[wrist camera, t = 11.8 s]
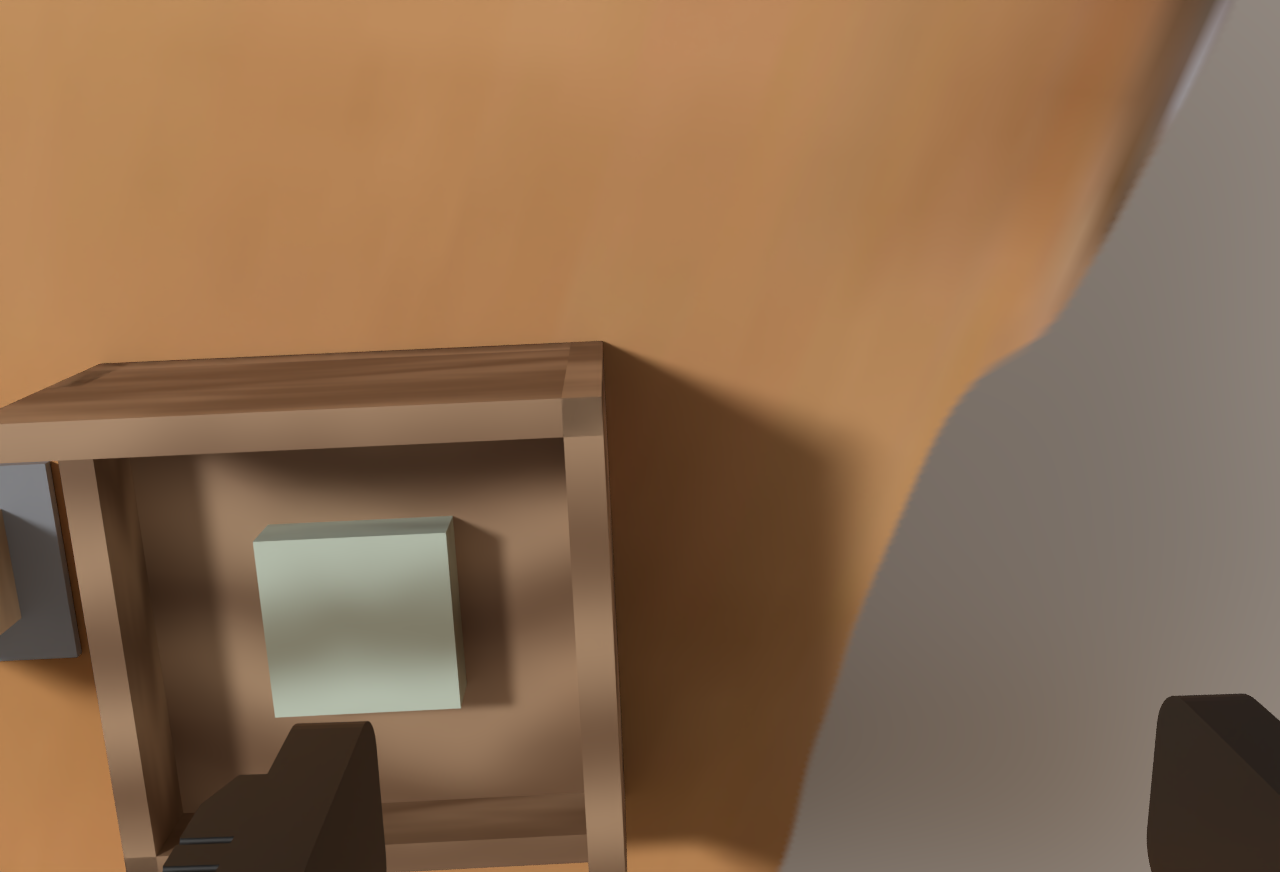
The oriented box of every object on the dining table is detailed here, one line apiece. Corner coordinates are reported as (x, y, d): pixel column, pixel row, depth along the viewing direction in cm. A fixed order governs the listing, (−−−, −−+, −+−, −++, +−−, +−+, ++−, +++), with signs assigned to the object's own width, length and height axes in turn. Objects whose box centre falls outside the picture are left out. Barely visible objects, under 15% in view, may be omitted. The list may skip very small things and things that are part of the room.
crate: (100, 363, 45) (-39, 425, 35) (602, 340, 45) (601, 396, 36) (170, 820, 50) (65, 985, 40) (625, 797, 50) (629, 955, 40)
